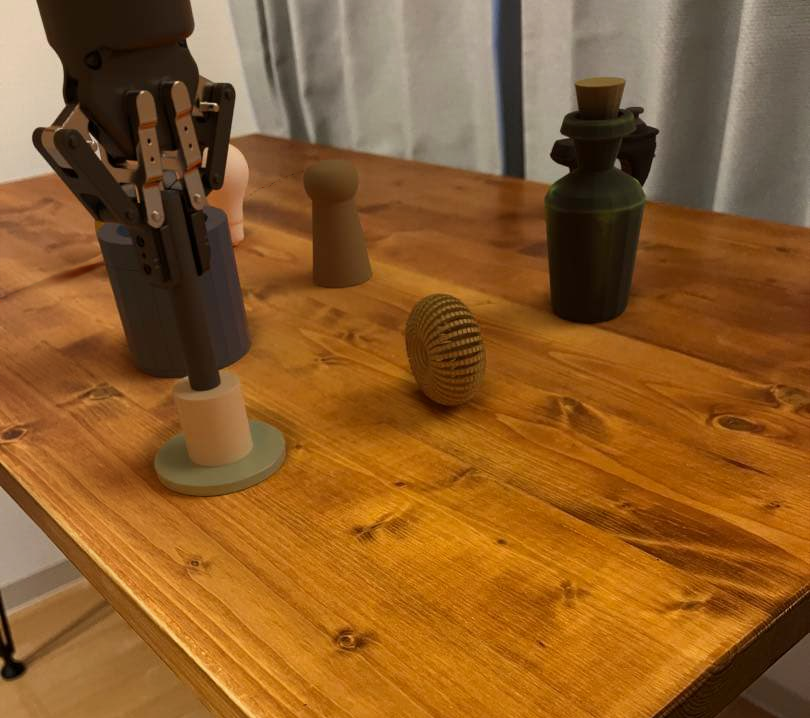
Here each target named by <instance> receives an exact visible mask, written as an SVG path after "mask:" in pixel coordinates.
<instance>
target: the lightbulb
mask: <svg viewBox="0 0 810 718" xmlns="http://www.w3.org/2000/svg"><path fill="white" fill-rule="evenodd" d="M207 152H208V148H206V149H205V150H204V152H203V160H202V167H206V159H207ZM249 179H250V169H249V165H248V162H247V160H246V157H245V156H244V154H243V153H242V152H241V151H240V150H239V149H238V148H237V147H236V146H235V145H232V144H231V143H229V148H228V155H227V162H226V169H225V176H224V183H223V186H222V188H221V189H220V190H212V191H211V192H210V194H209V195H208V196H207V197H206V203H207V204H208V206H213V207H216V208H219V209H222V210H223V211H224V212H225V213H226V215H227V219H228V224H229V229H230V234H231V239H232V244H233V247H236V246H238V245H239V243H240V242H242V241H243V240H244V238H245V235H244V234H245V233H244V225H243V220H244V212H243V203H244V197H245V193H246V190H247V187H248V183H249Z"/></svg>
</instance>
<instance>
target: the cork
mask: <svg viewBox="0 0 810 718" xmlns="http://www.w3.org/2000/svg"><path fill="white" fill-rule="evenodd" d="M302 182H303V188H304V190H305V193H306V195H307V196H308V198H309V199H310V200H311V218H312V219H311V223H312V224H311V225H312V226H311V227H312V229H311V230H312V231H311V232H312V233H311V234H312V237H311V238H312V281H313V282H314V284H316V285H317V286H319V287H324V288H333V289H334V288H335V289H336V288H347V287H353V286H357V285H360V284H363V283H365V282H367V281H369V280H370V279H371V278H372V276H373V270H372V265H371V262H370V258H369V253H368V249H367V245H366V241H365V240H366V239H365V236H364V231H363V227H362V224H361V219H360V214H359V210H358V206H357V202H356V197H355V195H356V193H357V192H358V189H359V173H358V171H357V169H356V167H355V166H354V164H353V163H352V162H350V161H348V160H346V159H341V158H340V159H338V158H329V159H323V160H319V161H316V162H314V163H313V162H312V163H311V164H310V165H308V166H307V167H306V169H305V171H304V174H303V181H302Z"/></svg>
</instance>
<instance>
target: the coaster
mask: <svg viewBox="0 0 810 718" xmlns="http://www.w3.org/2000/svg"><path fill="white" fill-rule="evenodd" d="M248 423H249V428H250V433H251V437H252V442H253V448H252V450H251V452H250V453H249V454H248V455H247V456H246V457H244V458H243V459H241V460H239V461H237V462H235V463H232V464H229V465H224V466H218V467H206V466H201V465H197V464H195V463H194V462H192V461H191V459H190V458H189V454H188V450H187V446H186V443H185V439H184V435H183V431H181V432H179V433H177V434H176V435H174V436H172V437H171V438H170V439H168V440H167V441H165V442H164V443H163V444H162V445H161V447H160V448H159V449H158V451H157V452H156V455H155V457H154V461H153V464H154V465H153V466H154V470H155V473H156V474H155V475H156V476H157V478H158V480H159V482H160V483H161V484H162V485H163V486H164V487H165V488H167V489H169V490H171V491H172V492H174V493H177V494H182V495H186V496H187V495H188V496H194V497H209V496H210V497H211V496H221V495H228V494H232V493H236V492H239V491H243V490H246V489H248V488H251V487H253V486H255V485H258V484H260V483H262V482H264V481H265V480H267V479H268V478H269V477H271V476H273V475H274V474H275V473H276V472H277V471H278V470H280V468H281V467H282V466H283V464H284V462H285V460H286V458H287V453H288V452H287V445H286V439H285V436H284V435H283V433H282V432H281V431H280V429H278V428H276V426H273V425H272V424H270V423H267V422H264V421H261V420H255V419H249V418H248Z"/></svg>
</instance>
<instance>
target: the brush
mask: <svg viewBox="0 0 810 718" xmlns="http://www.w3.org/2000/svg"><path fill="white" fill-rule="evenodd" d="M160 193H161V199H162V205H163V210H164V222H163V224H167V225H169V228H170V232H171V237H172V241H173V245H174V250H175V254H176V258H177V263H178V267H179V271H180V275H181V280H182V284H181V286H180V287H178V288H176V289H174V290H172V291H168V290H167V293H168V297H169V301H170V305H171V309H172V313H173V317H174V322H175V326H176V330H177V334H178V338H179V342H180V346H181V350H182V354H183V358H184V362H185V366H186V371H187V375H188V376H186V377H181V378H180V379H179V380H177V381H176V382H175V383H174V385H173V386H172V390H171V392H172V396H173V400H174V403H175V408H176V412H177V415H178V420H179V423H180V427H181V432H183V435H184V439H185V443H186V446H187V450H188V454H189V458H190V459H191V461H192V462H194V463H195V464H197V465H201V466H206V467H218V466H224V465H229V464H232V463H235V462H237V461H239V460H241V459H243V458H244V457H246V456H247V455H248V454H249V453H250V452H251V450H252V448H253V442H252V437H251V433H250V428H249V423H248V419H249V418H248V414H247V409H246V404H245V400H244V394H243V389H242V385H241V380H240V377H239V376H238V375H237V374H236V373H235V372H234V371H233V372H232V371H230V370H224V369H218V365H217V361H216V356H215V352H214V347H213V343H212V338H211V334H210V329H209V325H208V320H207V316H206V311H205V307H204V302H203V297H202V293H201V288H200V284H199V279H198V275H197V270H196V266H195V261H194V257H193V252H192V248H191V243H190V239H189V234H188V230H187V225H186V221H185V216H184V211H183V207H182V202H181V198H180V193H179V192H178V191H175V190H162V191H160Z"/></svg>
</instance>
